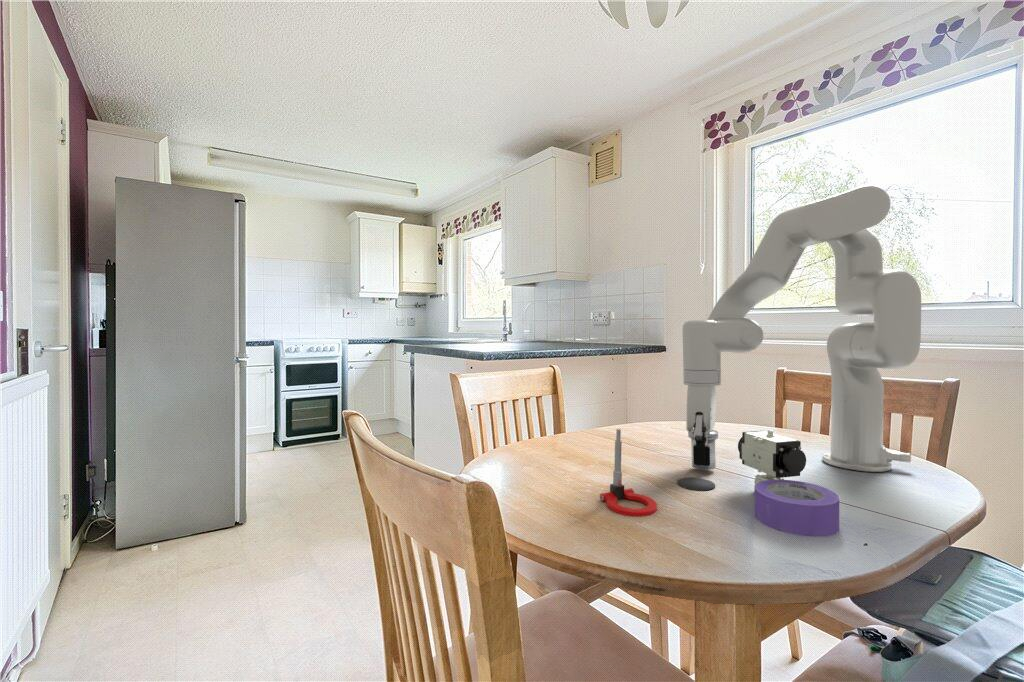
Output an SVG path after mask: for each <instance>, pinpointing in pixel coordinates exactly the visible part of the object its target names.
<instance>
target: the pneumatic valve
mask: <svg viewBox="0 0 1024 682" xmlns="http://www.w3.org/2000/svg"><path fill="white" fill-rule="evenodd" d="M737 450H738V452H739V455H738V456H739V457H738V458H739V459H740V460H741V464H742V465H743V466H747V467H749V468H752V469H754V470H757V472H758V473H764V474H756V475H755V479H754V485H755V484H756V483H758V482H761V481H765V480H785V479H784V478H793V477H800V476H801V472H803V470H804V469H805V467H806V465H807V456H806V454H805V452H804V451H803V450H802V445H801V440H797V439H793V438H790V437H787V436H783V435H779V434H775V433H774V430H771V429H768V430H767V431H765V430H754V431H752V430H751V431H742V435H741V437H740V438H739V441H738V443H737Z"/></svg>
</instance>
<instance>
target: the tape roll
mask: <svg viewBox="0 0 1024 682" xmlns="http://www.w3.org/2000/svg"><path fill="white" fill-rule="evenodd" d="M753 487H754V488H753V489H754V491H753V493H754V496H753V497H754V501H753V502H754V504H753V507H754V511H753V513H754V515H755V516H754V518H755V517H756V518H755V519H756V520H757V521H758V522H759V521H760V522H759V523H761V524H762V523H763V525H764V526H767V527H768V528H771V529H773V528H774V530H776V529H777V530H776V531H780V532H782V531H783V532H784V533H786V534H790V533H791V534H790V535H796V536H802V537H803V536H804V537H815V538H816V537H817V538H818V537H820V538H821V537H831V536H834V535H836V534H837V532H838V533H839V531H840V496H839V494H837V493H836V492H834V491H833V490H831V489H829V488H826V487H824V486H821V485H817V484H813V483H810V482H806V481H799V480H793V479H792V480H790V479H784V480H765V481H761V482H758V483H756V484H755V483H754V486H753Z"/></svg>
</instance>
